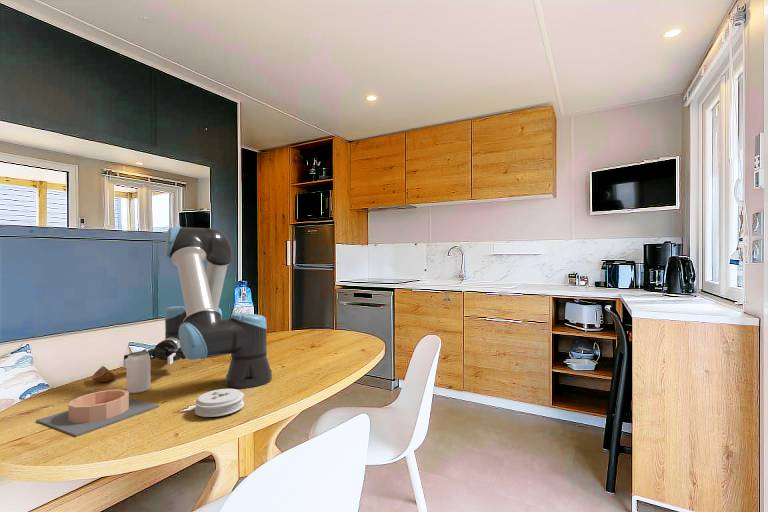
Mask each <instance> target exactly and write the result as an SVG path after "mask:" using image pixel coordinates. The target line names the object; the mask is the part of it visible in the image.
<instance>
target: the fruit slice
mask: <svg viewBox="0 0 768 512" xmlns="http://www.w3.org/2000/svg"><path fill="white" fill-rule="evenodd" d="M116 377H117V375H116V374H114V373H113V372H112V371H111V370H109V369H108V368H107V367H105V366H104V365H102V366H101V367H99V369H98V370H97V371H95V372H94V374H93V375H92V376H91V379H92V380H93V381H95V382H98V383H108V382H110V381H112V380H114V379H115V378H116Z"/></svg>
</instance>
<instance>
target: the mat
mask: <svg viewBox="0 0 768 512" xmlns="http://www.w3.org/2000/svg"><path fill="white" fill-rule="evenodd" d="M159 407H160V406H159V405H158V404H154V403H151V402H147V401H143V400H140V399H135V398H132V397H129V409H128V410H127V411H125V412H123V413H122V414H120V415H117V416H114V417H111V418H108V419H105V420H100V421H94V422H88V423H74V422H71V421H68V410H65V411H62V412H59V413H58V412H57V413H55V414H52V415H48V416H44V417H41V418H39V419H36V420H35V421H36V422H37V423H39V424H43V425H45V426H47V427H49V426H50V427H49V428H52V429H54V428H55V430H57V431H59V432H62V431H63V433H65V434H67V435H70V436H74V437H75V436H77V437H79V435H80V436H82V435H85V434H88V433H90V431H91V432H93V430H94V431H96V430H98V429H99V430H100V429H102V428H104V426H105V427H107V426H110V425H112V424H115V423H118V422H121V421H124V420H127V419H129V418H133V417H134V416H138V415H141V414H143V413H146V412H148V411H151V410H154V409H157V408H159ZM101 427H102V428H101ZM95 429H96V430H95ZM87 432H88V433H87ZM84 433H85V434H84Z"/></svg>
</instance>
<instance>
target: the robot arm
mask: <svg viewBox="0 0 768 512" xmlns="http://www.w3.org/2000/svg"><path fill="white" fill-rule="evenodd" d="M165 237H166V238H165V241H164V242H165V243H164V244H165V245H164V257H165V258H166V259H170V260H171V262H172V264H173V265H174V266H176V267H177V270H178V277H179V282H180V287H181V292H182V299H183V304H184V306H183V305H177V306H174V305H173V306H168V307H166V309H165V313H164V320H165V321H164V323H165V325H164V327H165V334H164V336H165V337H164V338H165V339H163V340H162V341H160V342H158V343H157V344H156V345H155V347H154V348H153V349H148V350H147V349H142V350H139V351H138V352H140V351H147V352H149V353H148V354H149V355H150V360H153V359H158V360H161V361H167V366H171V365H172V364H174V362H175V361H179V360H180V359H182V360H185V359H188V360H205V359H208V358H214V357H220V356H226V355H230V363H229V367H228V370H227V374H226V376H225V385H226V386H227V387H231V388H233V389H236V388H237V389H246V388H255V387H259V386H263V385H265V384H267V383H270V382H271V381H272V380H273V372H272V369H271V368H270V367H271V366H270V363H269V359H268V356H267V354H268V352H267V350H268V349H267V348H268V347H267V345H268V344H267V342H268V341H267V339H268V338H267V335H268V334H267V330H268V327H267V318H266V317H265V316H264V315H261V314H257V313H241V312H240V313H239V312H238V313H237V312H236V313H231V314H230V318H224V319H223V313H222V309H221V308H220V307H219V305H220V301H221V297H222V292H223V286H224V283H225V279H226V275H227V271H228V270H227V269H228V265H230V264H231V263H232V259H233V248H232V245H231V242H230V240H229V238H228V237H227V236H226V235H225V234H224V233H223V232H221V231H220V230H218V229H215V228H212V227H207V228H206V227H189V226H187V227H186V226H171V227H170V228H168V229H167V232H166V236H165ZM205 261H207V266H206V267H205V263H204V262H205ZM127 358H128V354H125V355H124V356H123V369H127Z"/></svg>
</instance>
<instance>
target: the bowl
mask: <svg viewBox="0 0 768 512" xmlns="http://www.w3.org/2000/svg"><path fill="white" fill-rule="evenodd" d="M129 398H130V393H129V391H127V389H126V390H125V389H106V390H100V391H95V392H91V393H87V394H84V395H81V396H78V397H76V398H74V399H72V400H70V401H69V403H68V405H67V406H68V407H67V408H68V410H67V411H68V421H71V422H74V423H88V422H94V421H100V420H105V419H108V418H111V417H114V416H117V415H120V414H122V413H123V412H125V411H127V410H128V409H129Z"/></svg>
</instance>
